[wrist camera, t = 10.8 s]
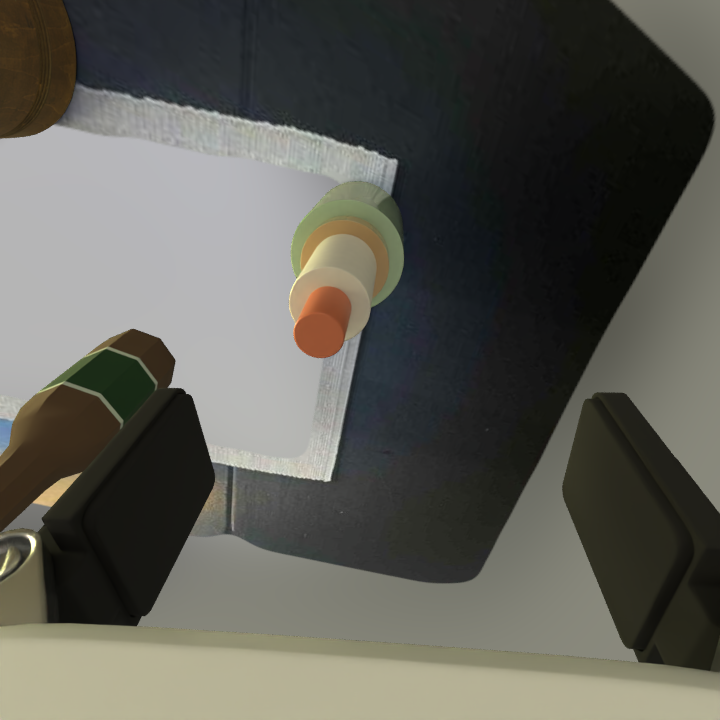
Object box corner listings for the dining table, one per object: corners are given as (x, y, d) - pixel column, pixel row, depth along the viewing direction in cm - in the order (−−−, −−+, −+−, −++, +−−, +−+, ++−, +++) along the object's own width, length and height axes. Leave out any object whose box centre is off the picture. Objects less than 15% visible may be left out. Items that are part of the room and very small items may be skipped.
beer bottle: (156, 400, 50) (-20, 608, 29) (95, 357, 47) (-144, 549, 27) (192, 360, 46) (24, 560, 26) (129, 312, 44) (-112, 489, 23)
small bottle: (308, 234, 28) (264, 292, 19) (375, 232, 28) (363, 290, 19) (315, 298, 30) (278, 376, 21) (377, 296, 30) (367, 376, 21)
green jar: (308, 183, 37) (277, 206, 28) (403, 179, 36) (404, 201, 27) (317, 274, 41) (293, 321, 31) (403, 272, 40) (404, 319, 31)
